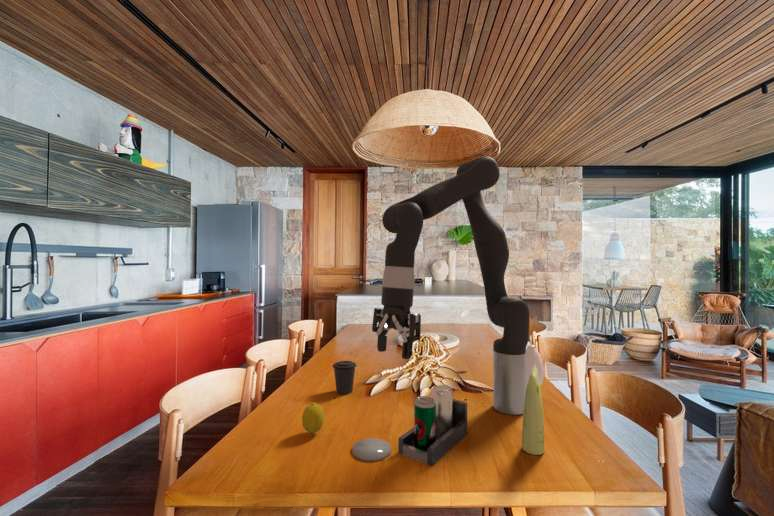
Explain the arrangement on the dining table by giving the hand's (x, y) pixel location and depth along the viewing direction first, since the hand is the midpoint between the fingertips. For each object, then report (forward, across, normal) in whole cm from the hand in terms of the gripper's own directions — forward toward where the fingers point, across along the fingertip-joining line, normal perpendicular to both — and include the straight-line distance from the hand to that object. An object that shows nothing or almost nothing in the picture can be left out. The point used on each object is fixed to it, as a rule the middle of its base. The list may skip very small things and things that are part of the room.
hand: (393, 354), depth 84 cm
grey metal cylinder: (+21, -4, -15) cm, 26 cm away
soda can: (+22, -6, -7) cm, 24 cm away
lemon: (+23, +19, +9) cm, 31 cm away
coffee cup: (+22, +38, -14) cm, 45 cm away
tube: (+20, -22, -26) cm, 40 cm away
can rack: (+21, -5, -11) cm, 25 cm away
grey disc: (+22, +3, +2) cm, 23 cm away
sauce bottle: (+17, -4, -63) cm, 65 cm away
